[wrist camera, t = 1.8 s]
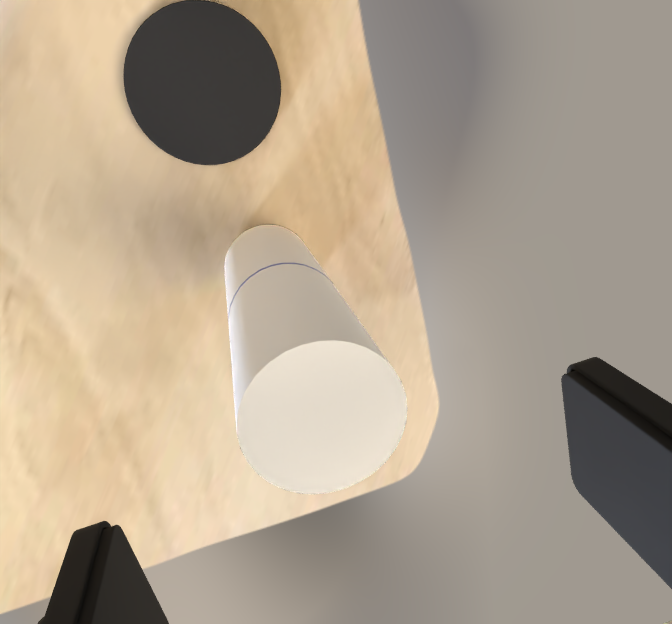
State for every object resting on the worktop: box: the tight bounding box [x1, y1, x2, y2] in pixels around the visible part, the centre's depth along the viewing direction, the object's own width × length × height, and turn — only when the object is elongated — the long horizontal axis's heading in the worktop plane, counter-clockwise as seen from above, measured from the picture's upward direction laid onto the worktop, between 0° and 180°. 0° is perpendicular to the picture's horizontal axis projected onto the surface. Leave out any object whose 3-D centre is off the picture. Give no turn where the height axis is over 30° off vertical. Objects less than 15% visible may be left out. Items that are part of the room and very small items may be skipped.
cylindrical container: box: [224, 225, 407, 494], centre depth 35 cm, size 7×7×25 cm
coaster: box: [124, 0, 281, 165], centre depth 41 cm, size 11×11×1 cm
